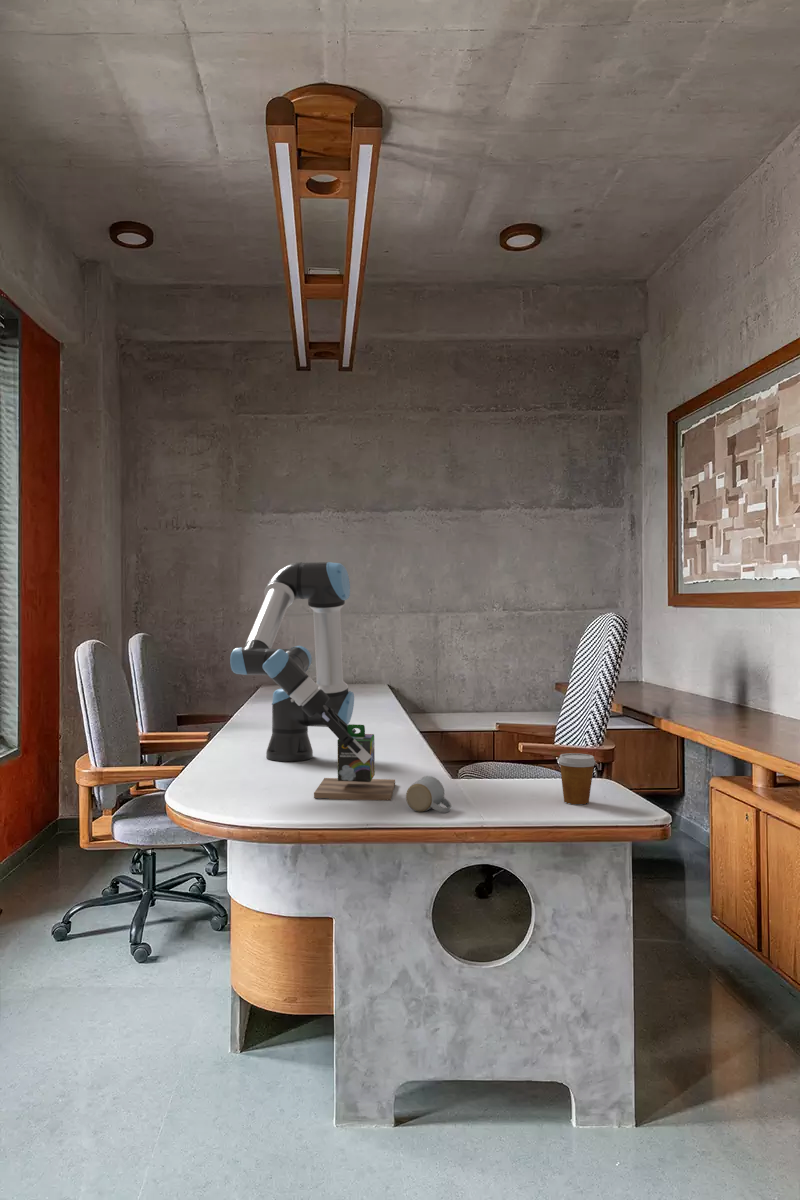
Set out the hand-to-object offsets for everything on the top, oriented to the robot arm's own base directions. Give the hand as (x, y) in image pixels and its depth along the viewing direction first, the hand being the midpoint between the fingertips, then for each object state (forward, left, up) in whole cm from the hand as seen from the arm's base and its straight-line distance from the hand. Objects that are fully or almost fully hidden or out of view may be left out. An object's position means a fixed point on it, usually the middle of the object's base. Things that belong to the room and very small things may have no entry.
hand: (367, 756), depth 241 cm
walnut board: (0, -3, -9) cm, 10 cm away
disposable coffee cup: (+7, +55, -10) cm, 56 cm away
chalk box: (0, -3, -6) cm, 7 cm away
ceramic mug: (+19, +17, -10) cm, 28 cm away
